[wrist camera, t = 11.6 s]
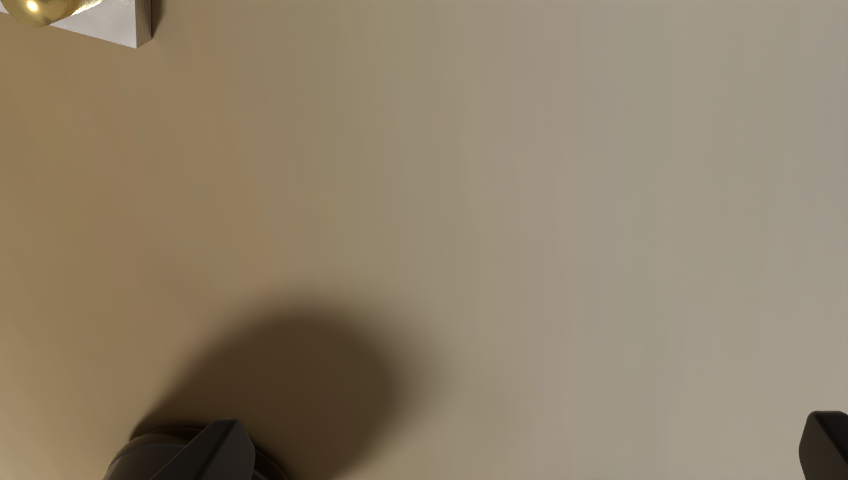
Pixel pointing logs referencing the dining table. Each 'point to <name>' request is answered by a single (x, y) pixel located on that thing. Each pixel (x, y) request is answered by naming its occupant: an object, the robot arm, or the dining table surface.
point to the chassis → (88, 17)
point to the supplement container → (170, 456)
